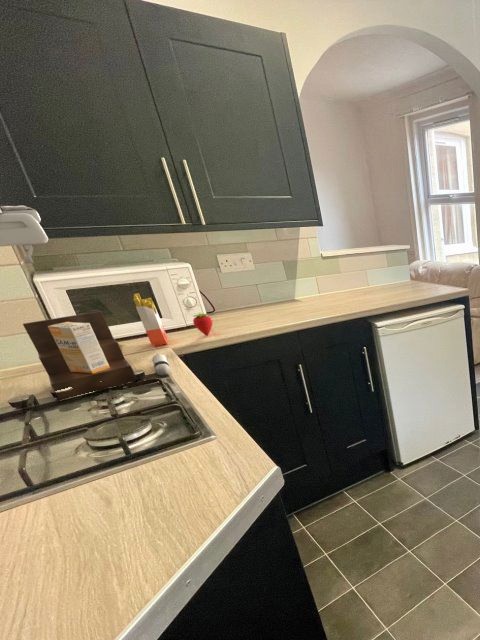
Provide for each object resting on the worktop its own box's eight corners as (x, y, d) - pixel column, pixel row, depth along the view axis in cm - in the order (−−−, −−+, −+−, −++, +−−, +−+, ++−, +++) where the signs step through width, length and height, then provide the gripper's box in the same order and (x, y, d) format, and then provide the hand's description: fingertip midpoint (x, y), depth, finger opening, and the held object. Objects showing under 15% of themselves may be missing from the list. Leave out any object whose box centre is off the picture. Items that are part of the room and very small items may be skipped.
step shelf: (60, 401, 109) (24, 335, 101) (55, 384, 120) (22, 323, 113) (138, 381, 119) (110, 320, 112) (126, 367, 131) (101, 310, 124)
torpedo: (175, 374, 123) (167, 353, 121) (155, 379, 121) (146, 357, 118) (169, 359, 136) (162, 340, 133) (151, 363, 133) (143, 344, 130)
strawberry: (214, 331, 165) (206, 306, 161) (218, 335, 160) (209, 309, 156) (196, 335, 162) (187, 309, 158) (200, 338, 156) (190, 312, 152)
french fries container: (169, 338, 159) (150, 291, 151) (168, 345, 150) (148, 295, 143) (154, 341, 156) (134, 293, 149) (152, 348, 148) (131, 297, 141)
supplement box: (69, 372, 114) (45, 326, 109) (89, 366, 118) (67, 321, 113) (91, 374, 112) (68, 327, 107) (111, 367, 116) (89, 321, 111)
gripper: (33, 205, 110) (59, 259, 115) (-95, 209, 96) (-58, 271, 101) (34, 204, 106) (61, 261, 111) (-99, 208, 92) (-61, 273, 98)
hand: (3, 265), depth 106 cm, fingers open, 8 cm apart
